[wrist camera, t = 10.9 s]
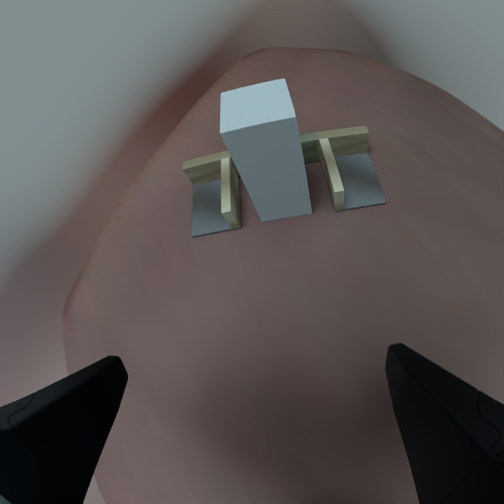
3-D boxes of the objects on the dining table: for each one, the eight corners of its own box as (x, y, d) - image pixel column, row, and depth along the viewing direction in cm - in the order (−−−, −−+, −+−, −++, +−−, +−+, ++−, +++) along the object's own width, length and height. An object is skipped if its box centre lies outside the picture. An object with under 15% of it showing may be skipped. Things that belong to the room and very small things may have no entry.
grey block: (312, 213, 25) (295, 117, 15) (261, 222, 26) (220, 133, 16) (304, 173, 27) (284, 78, 17) (258, 182, 27) (221, 93, 18)
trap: (386, 203, 23) (391, 183, 20) (192, 237, 27) (177, 222, 24) (364, 146, 26) (365, 125, 23) (195, 179, 30) (183, 162, 27)
